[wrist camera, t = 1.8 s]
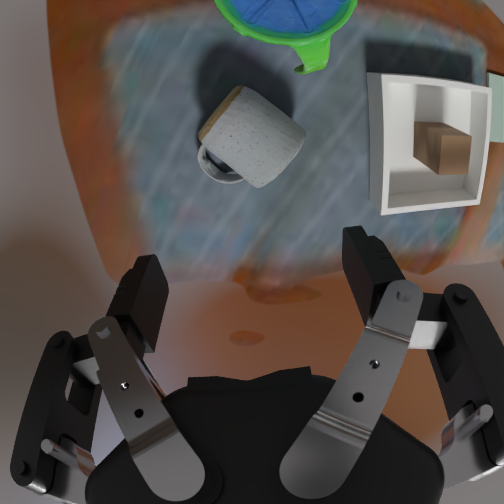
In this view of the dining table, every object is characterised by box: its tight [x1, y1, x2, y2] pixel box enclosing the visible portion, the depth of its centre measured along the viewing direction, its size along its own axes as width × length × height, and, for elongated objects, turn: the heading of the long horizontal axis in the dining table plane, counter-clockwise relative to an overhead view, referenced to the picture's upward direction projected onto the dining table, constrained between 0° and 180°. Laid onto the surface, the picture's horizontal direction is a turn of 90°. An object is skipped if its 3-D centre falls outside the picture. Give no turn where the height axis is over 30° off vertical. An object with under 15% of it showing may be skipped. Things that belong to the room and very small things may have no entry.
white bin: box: [366, 72, 492, 215], centre depth 28 cm, size 16×16×4 cm
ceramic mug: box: [198, 85, 306, 188], centre depth 28 cm, size 11×8×8 cm
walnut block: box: [413, 121, 472, 175], centre depth 27 cm, size 4×4×6 cm
